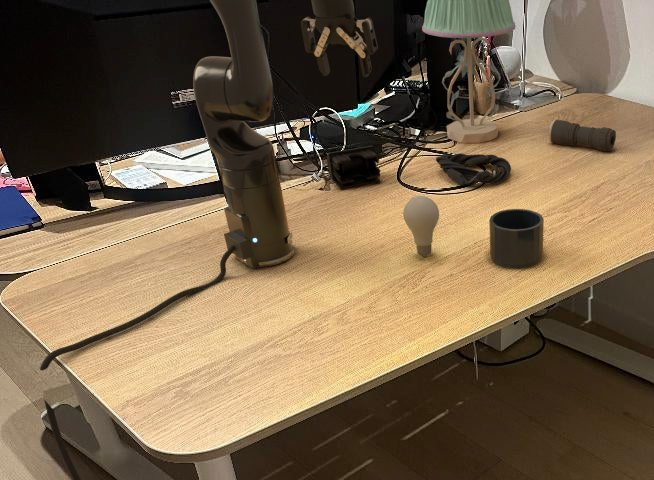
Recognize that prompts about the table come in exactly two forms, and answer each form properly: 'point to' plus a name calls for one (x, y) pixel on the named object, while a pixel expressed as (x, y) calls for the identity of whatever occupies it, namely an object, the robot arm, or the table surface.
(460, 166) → the cable
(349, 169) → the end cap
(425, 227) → the lightbulb
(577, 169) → the table surface
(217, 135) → the robot arm
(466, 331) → the table surface
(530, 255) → the pot
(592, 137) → the flashlight
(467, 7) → the table lamp
